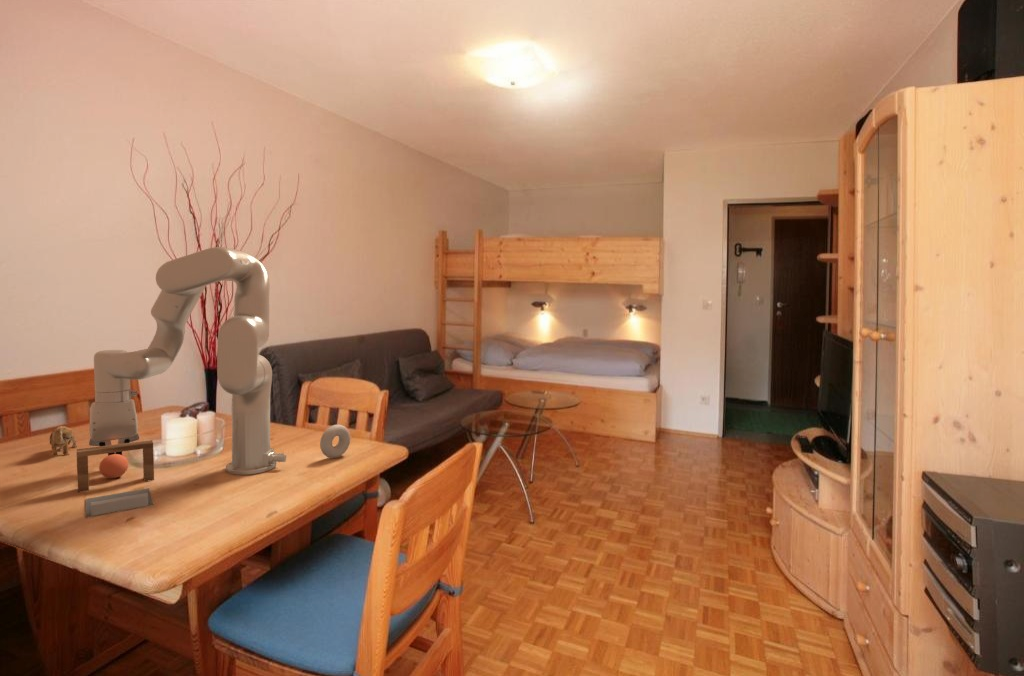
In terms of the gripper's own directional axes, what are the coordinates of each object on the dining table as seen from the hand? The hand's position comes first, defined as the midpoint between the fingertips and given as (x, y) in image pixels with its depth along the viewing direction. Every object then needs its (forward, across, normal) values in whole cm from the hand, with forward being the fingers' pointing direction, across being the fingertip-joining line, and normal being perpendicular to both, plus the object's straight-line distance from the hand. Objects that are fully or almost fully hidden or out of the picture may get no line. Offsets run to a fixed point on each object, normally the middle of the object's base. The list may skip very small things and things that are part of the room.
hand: (115, 464), depth 141 cm
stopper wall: (+2, 0, +32) cm, 32 cm away
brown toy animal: (+2, +11, -25) cm, 27 cm away
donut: (+2, -52, +21) cm, 56 cm away
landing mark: (+2, 0, +27) cm, 27 cm away
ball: (-2, 0, +7) cm, 7 cm away
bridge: (+1, 0, +13) cm, 13 cm away
